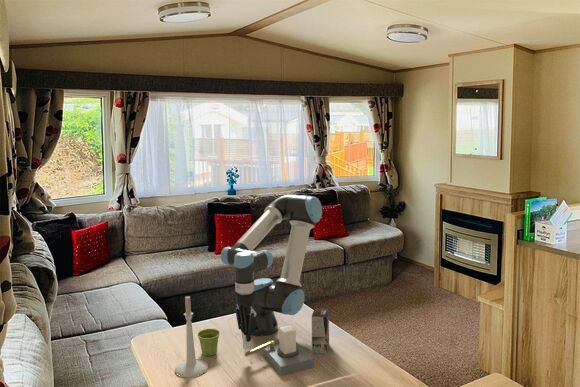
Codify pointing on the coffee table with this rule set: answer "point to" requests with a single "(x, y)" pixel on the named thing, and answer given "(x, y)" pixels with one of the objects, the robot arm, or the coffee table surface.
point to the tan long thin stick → (260, 347)
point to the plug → (287, 342)
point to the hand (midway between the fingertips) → (246, 347)
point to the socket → (288, 360)
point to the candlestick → (190, 350)
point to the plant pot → (208, 341)
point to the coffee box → (320, 330)
